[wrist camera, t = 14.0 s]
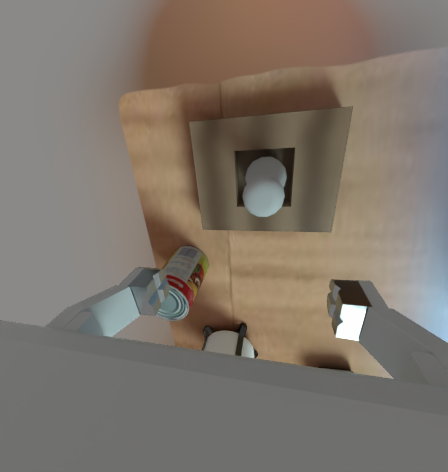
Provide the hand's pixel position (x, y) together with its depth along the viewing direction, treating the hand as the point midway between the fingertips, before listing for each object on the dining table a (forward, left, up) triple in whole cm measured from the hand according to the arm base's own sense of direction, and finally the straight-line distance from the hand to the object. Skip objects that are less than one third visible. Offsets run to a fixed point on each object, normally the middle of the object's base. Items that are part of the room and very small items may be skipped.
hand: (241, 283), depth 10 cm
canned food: (+15, +17, -27) cm, 35 cm away
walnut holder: (0, 0, -26) cm, 26 cm away
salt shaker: (-1, -1, -26) cm, 26 cm away
